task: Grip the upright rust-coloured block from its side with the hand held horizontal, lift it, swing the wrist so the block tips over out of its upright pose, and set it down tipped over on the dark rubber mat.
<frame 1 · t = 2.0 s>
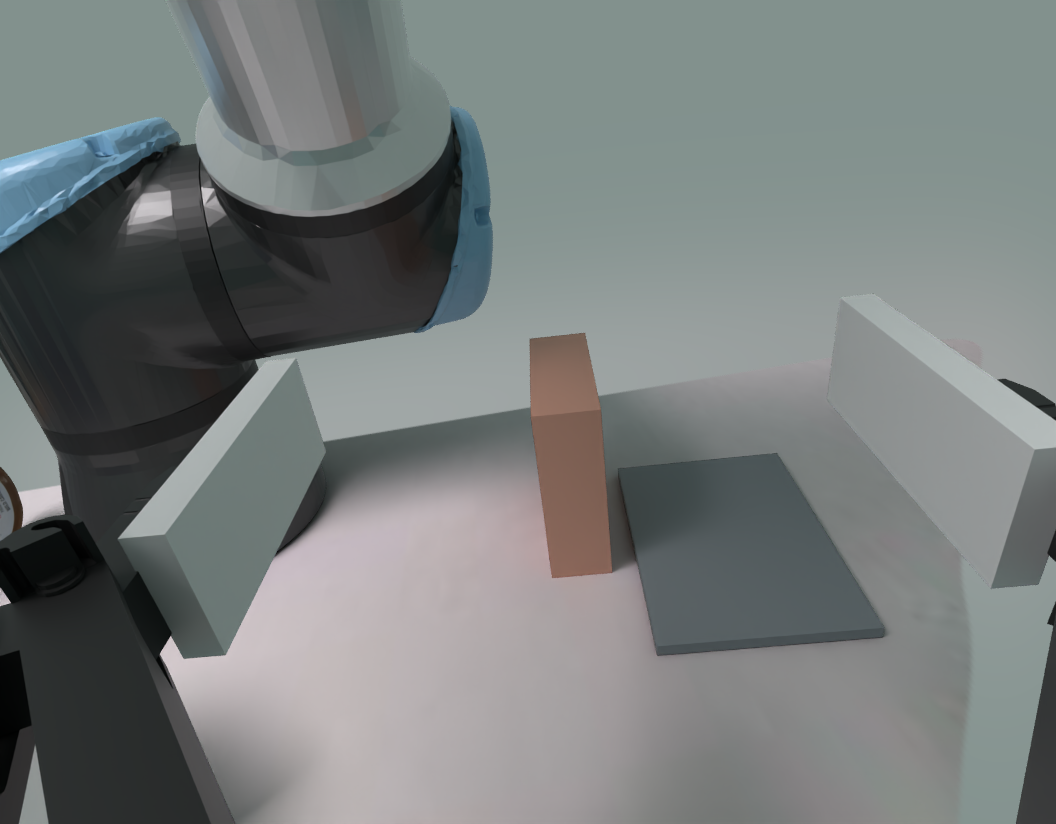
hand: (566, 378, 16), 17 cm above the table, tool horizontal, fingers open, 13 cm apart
block: (576, 521, 38), on the table
mat: (726, 542, 35), on the table
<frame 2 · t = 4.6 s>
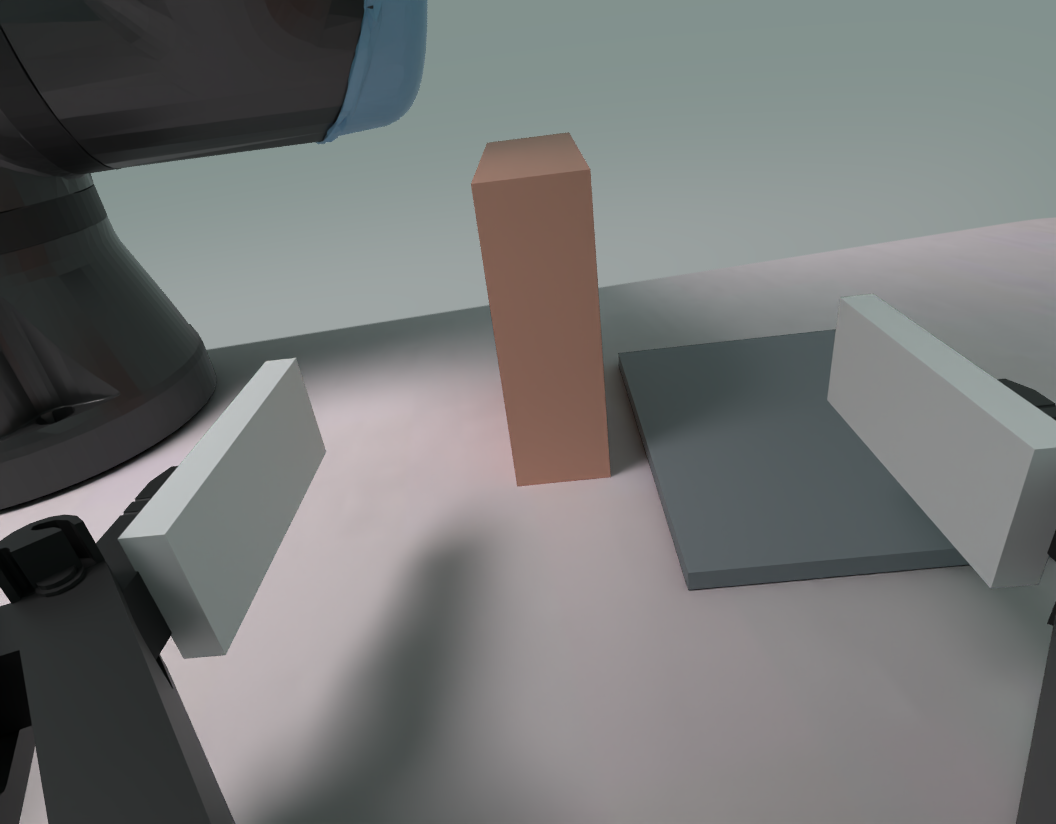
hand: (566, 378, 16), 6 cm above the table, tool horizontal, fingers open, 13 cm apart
block: (557, 417, 26), on the table
mat: (785, 433, 23), on the table
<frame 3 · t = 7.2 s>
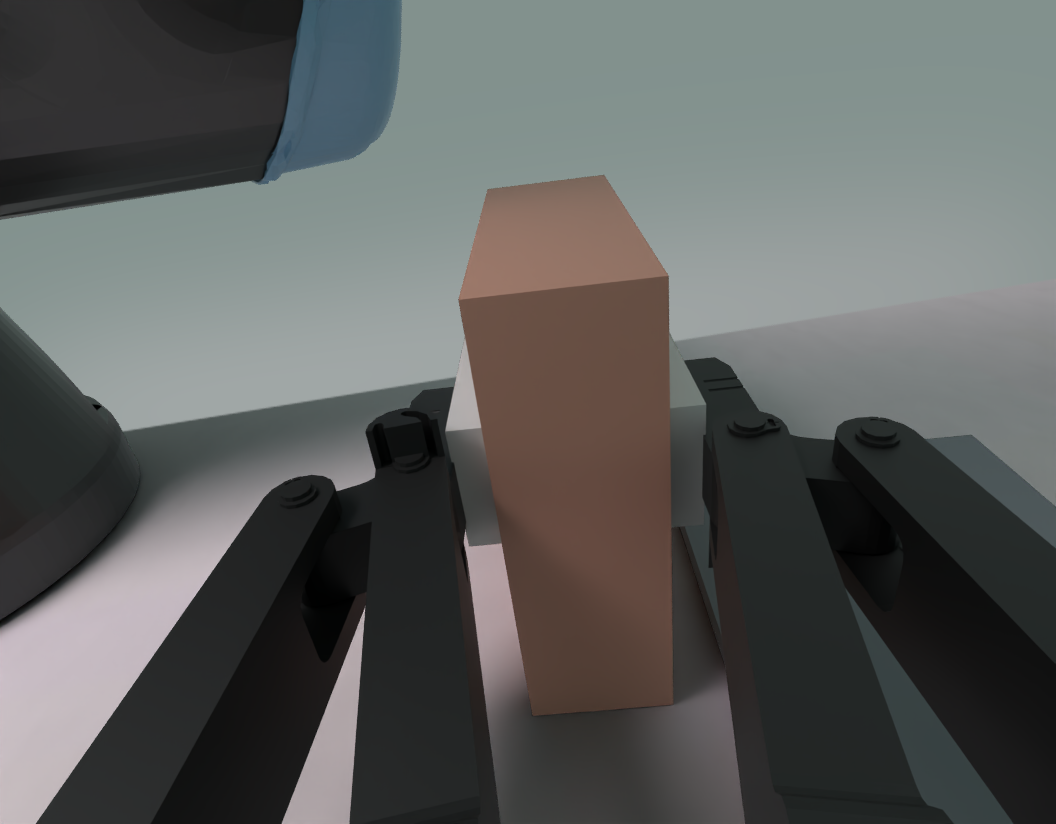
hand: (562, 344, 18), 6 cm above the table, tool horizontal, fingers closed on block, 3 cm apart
block: (585, 570, 19), on the table, touching gripper
mat: (928, 628, 16), on the table
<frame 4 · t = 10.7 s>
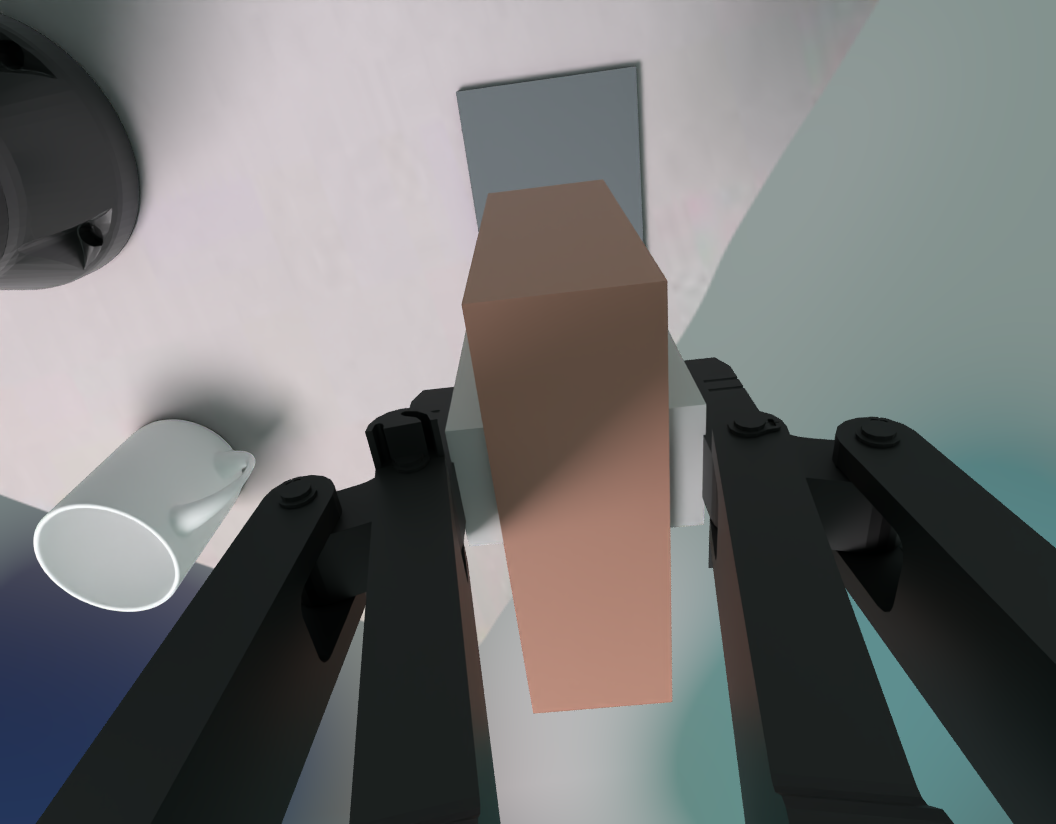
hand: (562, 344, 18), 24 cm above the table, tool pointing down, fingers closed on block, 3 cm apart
block: (585, 570, 19), point 26 cm above the table, tilted 89°, touching gripper
mat: (557, 206, 39), on the table
mug: (209, 456, 49), on the table
when the fingers open (4 cm above the table, at t = 14.2 s): block drops 1 cm, resting on mat.
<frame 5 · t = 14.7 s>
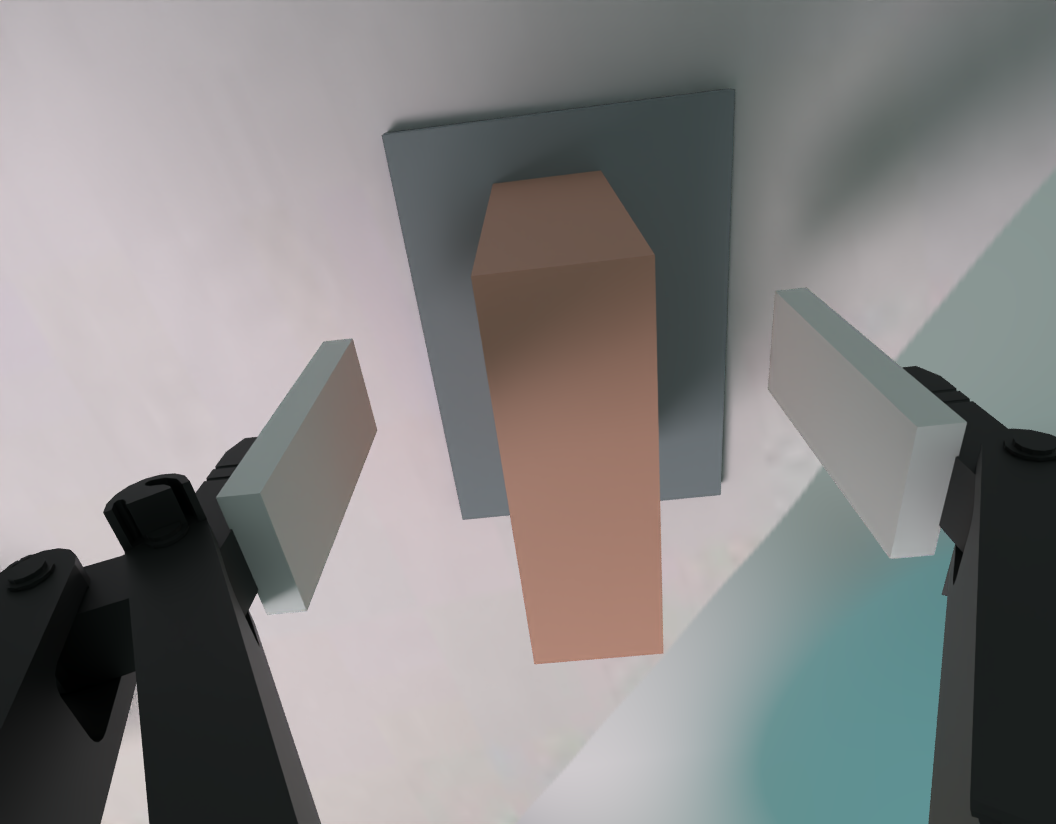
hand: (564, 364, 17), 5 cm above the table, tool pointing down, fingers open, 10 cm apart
block: (583, 539, 20), point 5 cm above the table, tilted 90°, touching mat
mat: (574, 334, 22), on the table
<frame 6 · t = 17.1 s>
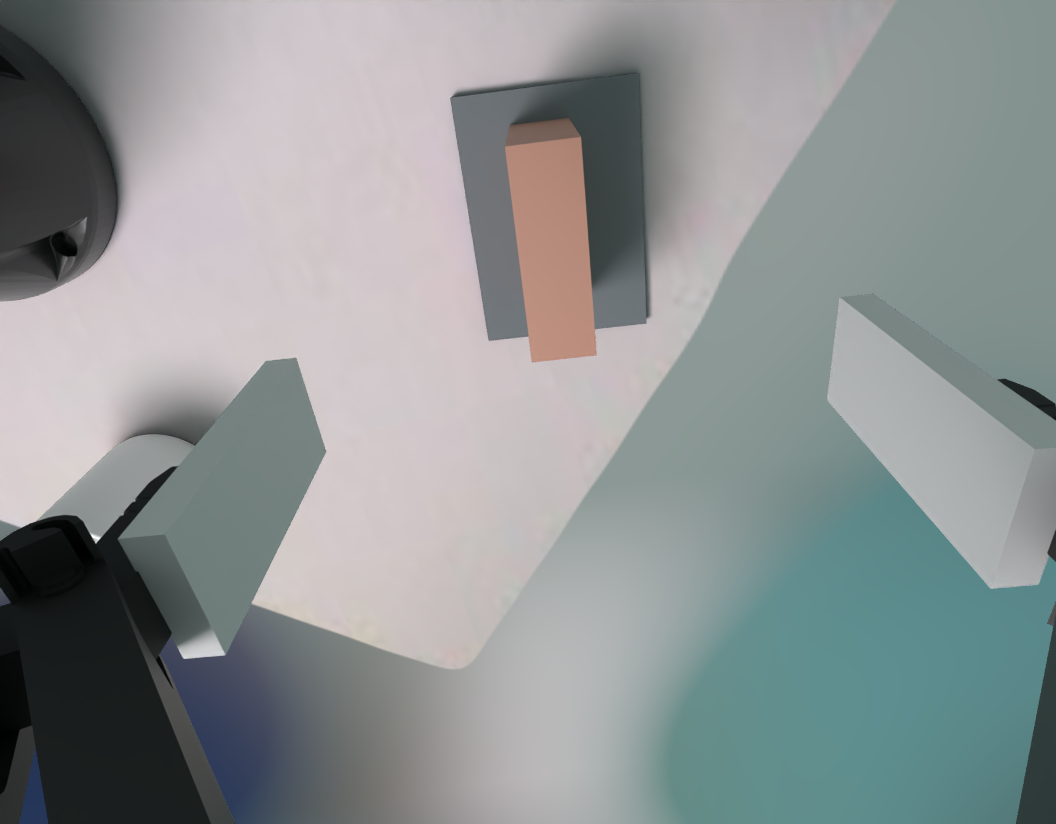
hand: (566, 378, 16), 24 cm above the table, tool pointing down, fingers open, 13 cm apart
block: (559, 325, 36), point 5 cm above the table, tilted 90°, touching mat
mat: (556, 217, 38), on the table
mug: (192, 471, 47), on the table
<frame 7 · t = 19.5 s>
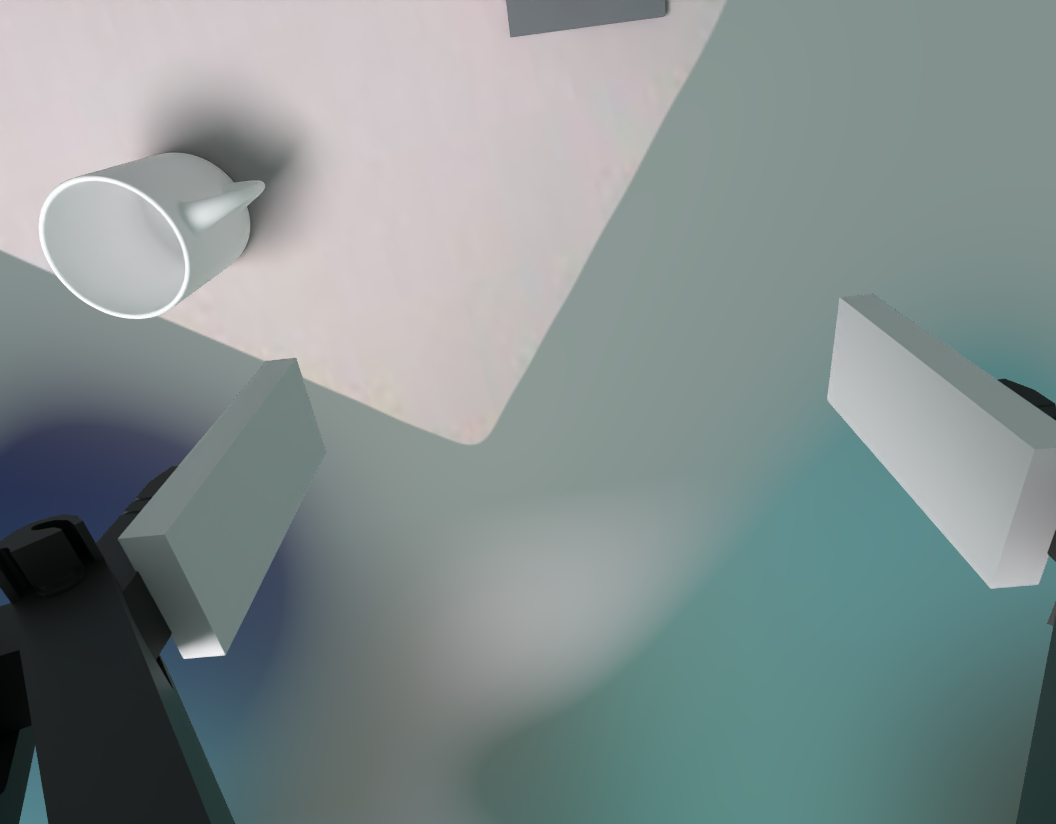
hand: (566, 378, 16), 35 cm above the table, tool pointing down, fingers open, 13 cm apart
mug: (215, 203, 48), on the table
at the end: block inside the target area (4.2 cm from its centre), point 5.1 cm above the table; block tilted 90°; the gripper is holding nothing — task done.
